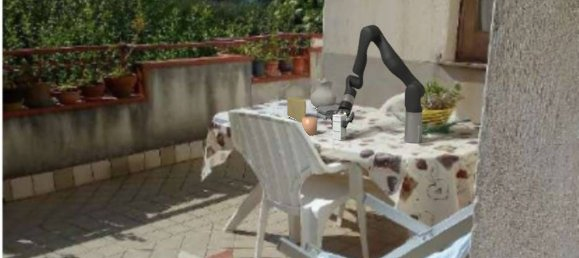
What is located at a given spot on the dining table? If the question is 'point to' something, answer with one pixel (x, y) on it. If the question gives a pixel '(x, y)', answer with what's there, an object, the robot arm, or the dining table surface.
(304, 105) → the cheese
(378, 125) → the dining table surface
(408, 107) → the robot arm
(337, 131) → the syrup box
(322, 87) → the ceramic pitcher
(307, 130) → the peach rounded cylinder
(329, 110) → the towel
